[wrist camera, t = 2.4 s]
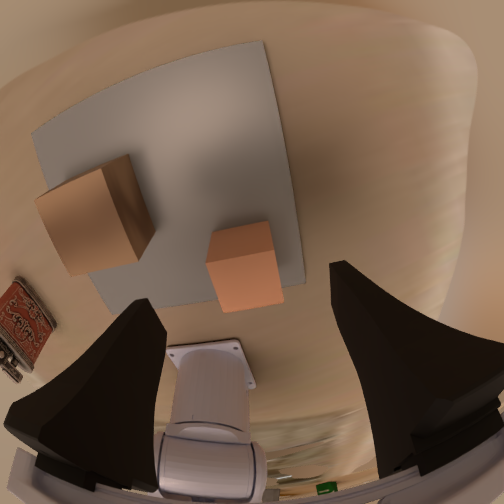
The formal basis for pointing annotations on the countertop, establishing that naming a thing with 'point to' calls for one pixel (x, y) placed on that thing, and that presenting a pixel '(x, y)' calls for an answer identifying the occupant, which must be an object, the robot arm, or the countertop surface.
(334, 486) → the milk carton
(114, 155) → the baseplate
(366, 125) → the countertop surface
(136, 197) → the base brick
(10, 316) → the lighter
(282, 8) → the countertop surface
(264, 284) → the top brick
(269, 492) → the coffeepot
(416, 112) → the countertop surface
